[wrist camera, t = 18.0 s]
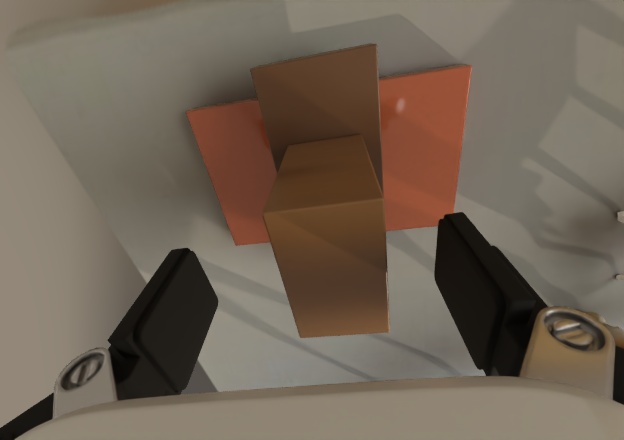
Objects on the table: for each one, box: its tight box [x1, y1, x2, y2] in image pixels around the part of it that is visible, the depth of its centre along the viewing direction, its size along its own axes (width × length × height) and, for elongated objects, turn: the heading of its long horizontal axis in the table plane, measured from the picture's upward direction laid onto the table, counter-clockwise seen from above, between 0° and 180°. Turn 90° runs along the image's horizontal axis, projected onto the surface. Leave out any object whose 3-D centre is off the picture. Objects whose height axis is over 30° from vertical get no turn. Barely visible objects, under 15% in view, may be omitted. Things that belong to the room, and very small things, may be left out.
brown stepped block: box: [250, 43, 390, 338], centre depth 14 cm, size 13×5×10 cm, turn 10°
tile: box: [186, 64, 472, 246], centre depth 19 cm, size 16×10×1 cm, turn 99°
